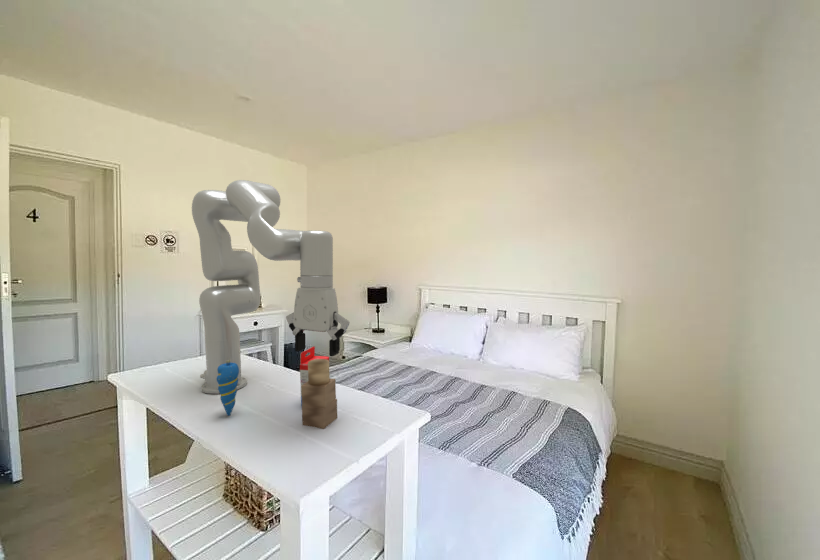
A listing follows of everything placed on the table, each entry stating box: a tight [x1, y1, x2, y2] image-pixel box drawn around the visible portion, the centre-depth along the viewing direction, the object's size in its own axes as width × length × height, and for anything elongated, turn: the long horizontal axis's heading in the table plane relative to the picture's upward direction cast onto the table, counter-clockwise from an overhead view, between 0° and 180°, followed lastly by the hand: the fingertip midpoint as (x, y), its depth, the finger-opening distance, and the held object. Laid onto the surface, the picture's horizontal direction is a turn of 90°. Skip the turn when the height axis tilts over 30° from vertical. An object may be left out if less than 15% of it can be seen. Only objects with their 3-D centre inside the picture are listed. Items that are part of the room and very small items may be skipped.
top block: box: [300, 377, 337, 408], centre depth 88 cm, size 6×6×5 cm
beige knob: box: [308, 359, 331, 386], centre depth 87 cm, size 5×5×5 cm
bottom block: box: [301, 398, 338, 430], centre depth 88 cm, size 6×6×5 cm
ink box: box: [299, 346, 330, 407], centre depth 100 cm, size 8×5×15 cm, turn 168°
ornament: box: [217, 358, 239, 417], centre depth 91 cm, size 5×5×15 cm
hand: (317, 352), depth 87 cm, fingers open, 9 cm apart
